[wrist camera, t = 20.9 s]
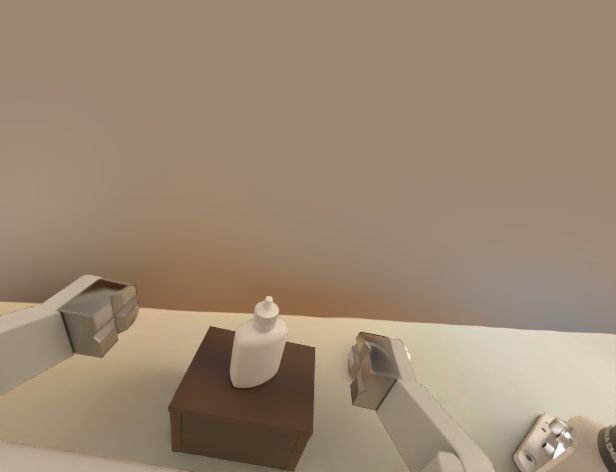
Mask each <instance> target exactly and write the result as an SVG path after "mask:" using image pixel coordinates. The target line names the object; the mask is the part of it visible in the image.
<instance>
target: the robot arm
mask: <svg viewBox="0 0 616 472" xmlns="http://www.w3.org/2000/svg"><path fill="white" fill-rule="evenodd" d="M136 294H137V289H136V286H135V285H133V284H129V283H125V282H121V281H117V280H112V279H108V278H103V277H98V276H94V275H90V274H89V275H84V276H82V277H81V278H79V279H77V280H76V281H75V282H73V283H72V284H70V285H69V286H67V287H66V288H64V289H63V290H61V291H60V292H58V293H57V294H55V295H54V296H52V297H51V298H50V299H48V300H47V301H45V302H44V303H42V304H41V305H39V306H38V307H34V306H30V307H27V308H24V309H21V310H18V311H14V312H11V313H8V314H5V315H1V316H0V396H1V395H3V394H4V393H6V392H8V391H10V390H12V389H13V388H15V387H17V386H19V385H21V384H22V383H24V382H26V381H28V380H30V379H31V378H33V377H35V376H37V375H39V374H40V373H42V372H44V371H46V370H48V369H49V368H51V367H53V366H55V365H57V364H58V363H60V362H62V361H64V360H66V359H67V358H69V357H71V356H73V355H74V353H75V354H81V355H88V356H94V357H100V358H102V357H103V356H104V355H105V354H106V353H107V352H108V351H109V350H110V349H111V347H112V346H113V345H114V344H115V343H116V342H117V341H118V334H119V333H121V332H123V331H125V330H127V329H128V328H129V327H130V326H131V325H132V324H133V323H134V321H135V319H136V317H137V315H138V310H139V305H138V304H139V303H138V302H137V300H136V299H135V298H134V296H135V295H136ZM356 340H357V344H356V345H354V346H353V347H352V349H351V351H350V355H349V360H348V368H349V374H350V375H351V377H352V378H353V381H352V383H351V385H350V388H351V397H352V405H353V406H357V407H362V408H366V409H371V410H375V411H376V413H377V415H378V416H379V418H380V420H381V422H382V423H383V425H384V427H385V428H386V430H387V432H388V434H389V435H390V437H391V439H392V441H393V442H394V444H395V446H396V447H397V449H398V451H399V453H400V454H401V456H402V458H403V460H404V461H405V463H406V465H407V466H408V468H409V470H410V472H495V470H494V468H493V465H492V463H491V461H490V459H489V458H488V457H487V456H486V455H485V453H484V452H483V451H482V450H481V449H480V448H479V447H478V446H477V445H476V443H475V442H474V441H473V440H472V439H471V438H470V437H469V436H468V435H467V434H466V432H465V431H464V430H463V429H462V428H461V427H460V426H459V425H458V424H457V422H456V421H455V420H454V419H453V418H452V417H451V416H450V415H449V414H448V413H447V411H446V410H445V409H444V408H443V407H442V406H441V405H440V404H439V403H438V401H437V400H436V399H435V398H434V397H433V396H432V395H431V394H430V393H429V392H428V390H427V389H426V388H425V387H424V386H423V385H422V384H420V383H417V380H416V378H415V375H414V372H413V369H412V367H411V364H410V361H409V358H408V356H407V353H406V350H405V347H404V345H403V342H402V341H401V340H400V339H395V338H390V337H385V336H380V335H375V334H370V333H365V332H360V333H359V334H358V336H357V338H356ZM514 461H515V463H516V465H517V467H518V468H519V470H520V471H521V472H616V424H613V425H610V426H609V427H606V426H604V425H602V424H600V423H598V422H596V421H594V420H591V419H589V418H586V417H583V416H575V417H573V418H571V419H570V420H568V421H567V422H565V421H563V420H561V419H560V418H558V417H555V416H553V415H550V414H548V413H544V414H542V415H541V416H540V417H539V418H538V420H537V421H536V423H535V424H534V426H533V427H532V429H531V430H530V432H529V433H528V435H527V436H526V438H525V439H524V441H523V442H522V444H521V445H520V447H519V448H518V450H517V451H516V453H515V454H514ZM0 472H193V471H187V470H181V469H175V468H169V467H163V466H157V465H151V464H145V463H139V462H133V461H127V460H121V459H115V458H109V457H103V456H97V455H91V454H85V453H79V452H73V451H67V450H61V449H55V448H49V447H43V446H37V445H31V444H25V443H19V442H13V441H7V440H1V439H0Z"/></svg>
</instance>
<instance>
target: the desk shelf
mask: <svg viewBox="0 0 616 472" xmlns="http://www.w3.org/2000/svg"><path fill="white" fill-rule="evenodd" d="M235 332H236V331H231V330H226V329H221V328H216V327H211V326H210V328H209V329H208V331H207V333H206V335H205V337H204V339H203V341H202V343H201V345H200V347H199V349H198V351H197V353H196V354H195V356H194V358H193V360H192V362H191V364H190V366H189V368H188V370H187V372H186V374H185V376H184V378H183V380H182V381H181V383H180V385H179V387H178V389H177V391H176V393H175V395H174V397H173V399H172V401H171V403H170V405H169V407H168V408H169V412H170V421H171V439H172V450H173V451H179V452H185V453H191V454H197V455H203V456H208V457H214V458H220V459H226V460H232V461H238V462H244V463H250V464H255V465H261V466H267V467H273V468H279V469H285V470H290V471H294V470H295V468H296V465H297V463H298V461H299V459H300V457H301V455H302V453H303V451H304V448H305V446H306V444H307V442H308V440H309V438H310V437H311V436H312V433H313V409H314V372H315V347H310V346H305V345H300V344H295V343H290V342H286V343H285V346H284V350H283V354H282V358H281V361H280V365H279V368H278V371H277V373H276V374H275V375H274V376H273V377H272V378H271V379H269V380H268V381H266V382H264V383H263V384H260V385H258V386H255V387H250V388H236V387H234V386H233V384H232V381H231V377H230V365H231V358H232V350H233V343H234V337H235Z"/></svg>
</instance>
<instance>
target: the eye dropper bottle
mask: <svg viewBox="0 0 616 472" xmlns="http://www.w3.org/2000/svg"><path fill="white" fill-rule="evenodd" d="M278 313H279V309H278V306H277V305H276V304H275V303H273V298H272V297H270V296H267V297H266V299H265V301H262V302H259V303H258V304H257V305H256V307H255V312H254V317H253V319H251V320H249V321H247V322H246V323H244V324H243V325H241V326H240V327H239V328H238V329H237V330H236V332H235V337H234V343H233V350H232V358H231V365H230V377H231V381H232V384H233V386H234V387H236V388H250V387H255V386H258V385H260V384H263V383H264V382H266V381H268V380H269V379H271V378H272V377H273V376H274V375H275V374H276V373H277V371H278V368H279V365H280V361H281V358H282V354H283V350H284V346H285V343H286V339H287V335H288V330H287V327H286V325H285V323H284V321H283V320H282V319H281V318H278Z"/></svg>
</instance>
